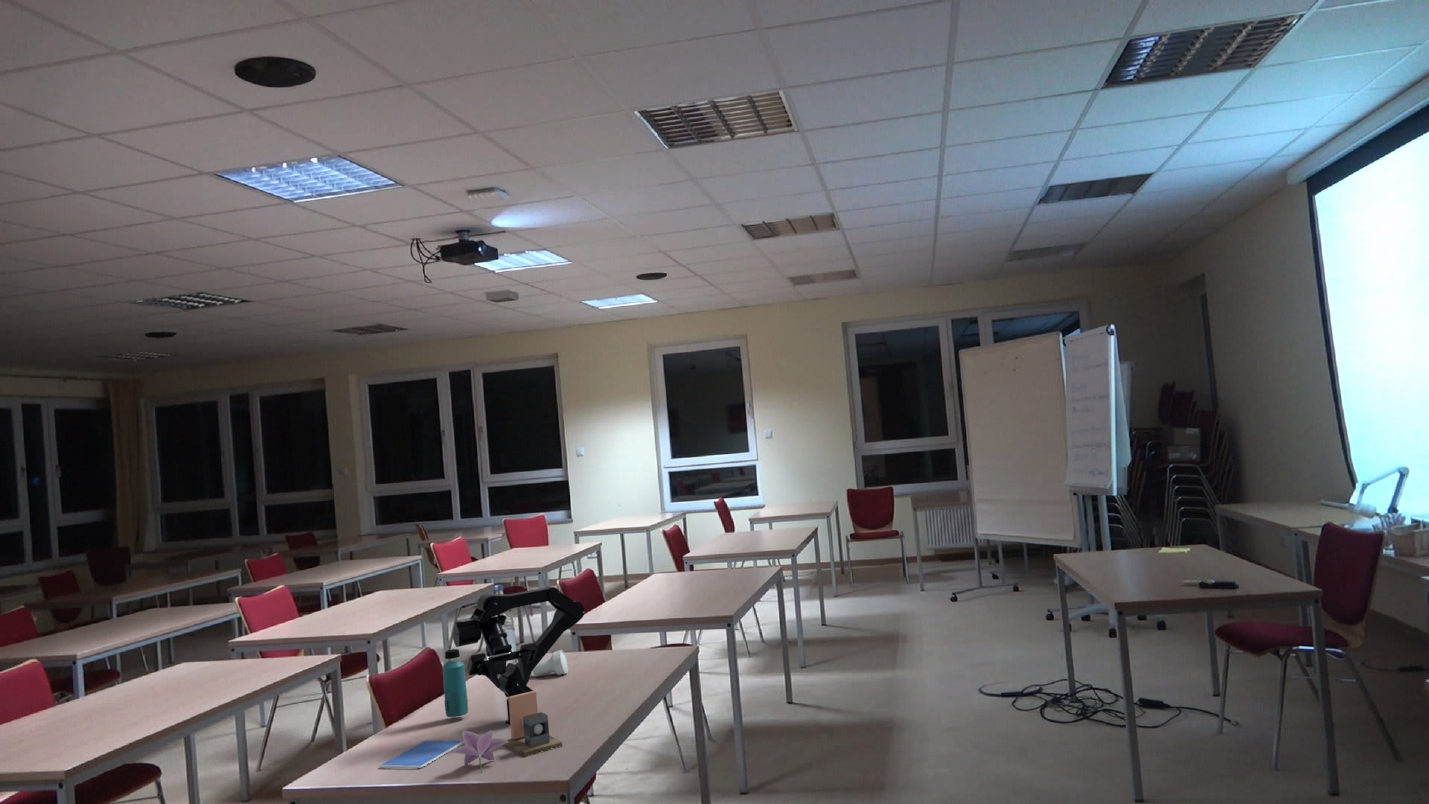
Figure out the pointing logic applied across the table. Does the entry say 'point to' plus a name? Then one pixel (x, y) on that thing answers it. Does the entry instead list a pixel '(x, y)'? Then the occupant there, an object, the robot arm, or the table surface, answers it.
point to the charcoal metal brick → (529, 735)
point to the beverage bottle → (454, 685)
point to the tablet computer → (421, 754)
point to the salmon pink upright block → (522, 713)
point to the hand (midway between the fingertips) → (512, 684)
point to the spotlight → (552, 665)
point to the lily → (479, 746)
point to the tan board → (525, 750)
